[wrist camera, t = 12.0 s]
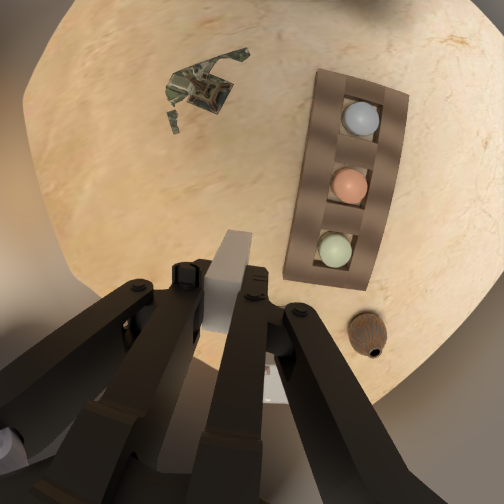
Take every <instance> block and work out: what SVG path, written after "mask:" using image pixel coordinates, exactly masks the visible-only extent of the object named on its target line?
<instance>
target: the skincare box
mask: <svg viewBox="0 0 504 504" xmlns="http://www.w3.org/2000/svg"><path fill="white" fill-rule="evenodd" d="M278 307H280V308H285V307H286V306H278ZM263 403H288V400H287V397H286V394H285V391H284V388H283V385H282V382H281V379H280V376H279V373H278V370H277V367H276V364H275V361H274V354H271V353H269V352H266V360H265V377H264V394H263Z"/></svg>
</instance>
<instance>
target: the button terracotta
mask: <svg viewBox="0 0 504 504" xmlns="http://www.w3.org/2000/svg"><path fill="white" fill-rule="evenodd" d="M331 188H332V191H333V192H334V194H335V195H336V196H337V197H338V198H340V199H341V200H342V201H343V202H346V203H350V204H352V203H357V202H359V201H360V200H362V199H363V198H364V196H365V194H366V192H367V182H366V179H365V177H364V176H363V175H362V174H361V173H360V172H358V171H355V170H353V169H350V168H342V169H339V170H338V171H336V172H335V173H334V175H333V177H332V179H331Z"/></svg>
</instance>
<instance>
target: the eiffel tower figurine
mask: <svg viewBox="0 0 504 504" xmlns="http://www.w3.org/2000/svg"><path fill="white" fill-rule="evenodd" d="M249 56H250V53H249V51H248V48H243V49H240V50H236V51H233V52H230V53H227V54H224V55H221V56H218V57H215V58H212V59H209V60H206V61H203V62H201V63H198V64H195V65H193V66H190V67H187V68H185V69H182V70H180V71H178V72H175V73H173V75H172V76H171V78H170V80H169V83H168V84H167V86H166V95H167V97H168V99H167V100H169V101H170V102H171V103H172V105H173V106H174V107H175V103H177V102H180V101H182V100H183V99H184V98H185V97H187V96H188V95H189V94H190V96H189V98H188V100H187V102H188V103H190V104H193V105H195V106H198V107H200V108H203V109H205V110H208V111H210V112H212V113H215V114H217V115H218V113H219V111H220V109H221V107H222V106H223V104H224V102H225V100H226V98H227V96H228V94H229V93H230V91H231V89H232V87H233V85H234V84H233V83H230V82H228V81H225V80H223V79H221V78H218V77H216V76H213V75H211V74H209V73H210V70H211V69H212V67H213V66H214V64H215V63H216V62H217V61H218V60H219V59H222V58H231V59H234V60H237V61H240V62H243V61H244V60H246V59H247V58H248V57H249ZM167 115H168V118H169V121H170V124H171V128H172V131H173V134H177V133H180V132H179V128H178V126H177V120H176V118H177V117H178V113H177V111H176V110H173V111H169V112H167Z"/></svg>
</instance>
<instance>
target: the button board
mask: <svg viewBox="0 0 504 504" xmlns="http://www.w3.org/2000/svg"><path fill="white" fill-rule="evenodd" d="M344 98H348V99H352V100H355V101H359V102H365V103H368V104H370V105H373V106H377V107H378V108H377V113H378V116H379V125H378V127H377V129H376V130H375V131H374V136H373V142H369V141H366V140H362V139H358V138H354V137H350V136H346V135H341V134H339V127H340V121H341V114H342V107H343V100H344ZM408 102H409V95H408V94H405V93H402V92H400V91H397V90H394V89H391V88H388V87H385V86H382V85H379V84H376V83H373V82H369V81H366V80H362V79H359V78H355V77H352V76H348V75H344V74H340V73H336V72H331V71H327V70H322V69H318V71H317V72H316V78H315V86H314V93H313V100H312V107H311V114H310V120H309V127H308V134H307V140H306V146H305V152H304V159H303V165H302V171H301V177H300V182H299V188H298V194H297V199H296V205H295V211H294V216H293V222H292V227H291V232H290V237H289V243H288V248H287V253H286V258H285V263H284V268H283V280H290V281H297V282H304V283H311V284H318V285H325V286H332V287H339V288H347V289H354V290H362V291H366V289H367V286H368V283H369V280H370V277H371V274H372V270H373V267H374V264H375V261H376V257H377V254H378V251H379V247H380V244H381V240H382V237H383V233H384V229H385V225H386V222H387V218H388V214H389V210H390V205H391V201H392V197H393V192H394V188H395V183H396V178H397V173H398V168H399V163H400V158H401V152H402V146H403V140H404V133H405V126H406V119H407V111H408ZM334 161H335V162H340V163H344V164H349V165H353V166H357V167H361V168H366V169H368V170H367V175H366V182H367V192H366V194H365V196H364V198H363V199H362V200H361V204H360V206H357V205H352V204H347V203H342V202H337V201H332V200H327V196H328V191H329V185H330V180H331V175H332V169H333V164H334ZM320 229H325V230H331V231H336V232H342V233H348V234H353V237H352V241H351V249H352V254H351V257H350V259H349V261H348V262H347V263H346V264H345V265H343V266H341V267H330V266H327V265H326V264H325V263H324V262H323V261H317V260H314V256H315V252H316V247H317V243H318V239H319V234H320Z"/></svg>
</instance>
